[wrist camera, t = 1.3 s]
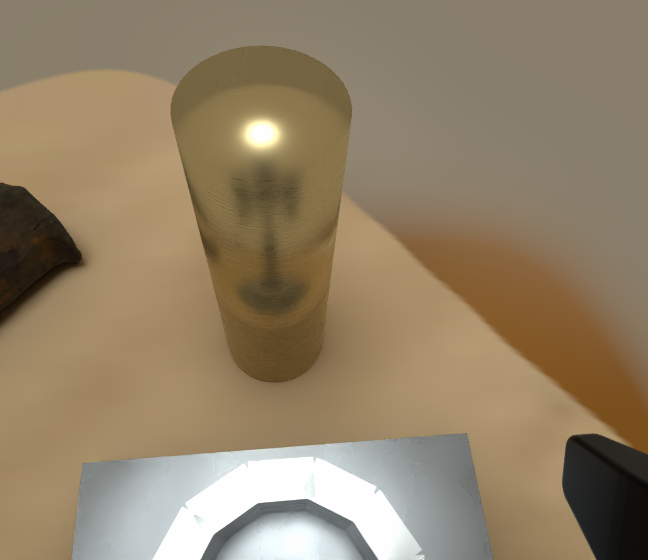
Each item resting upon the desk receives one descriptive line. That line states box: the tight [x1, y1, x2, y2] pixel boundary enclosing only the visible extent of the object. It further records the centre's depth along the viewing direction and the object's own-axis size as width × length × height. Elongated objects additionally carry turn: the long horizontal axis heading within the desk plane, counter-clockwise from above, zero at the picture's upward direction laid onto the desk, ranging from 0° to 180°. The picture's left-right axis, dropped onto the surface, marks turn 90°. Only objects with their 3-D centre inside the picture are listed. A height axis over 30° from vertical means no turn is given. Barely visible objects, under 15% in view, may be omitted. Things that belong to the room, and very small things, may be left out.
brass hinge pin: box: [171, 46, 352, 382], centre depth 18 cm, size 4×4×13 cm
